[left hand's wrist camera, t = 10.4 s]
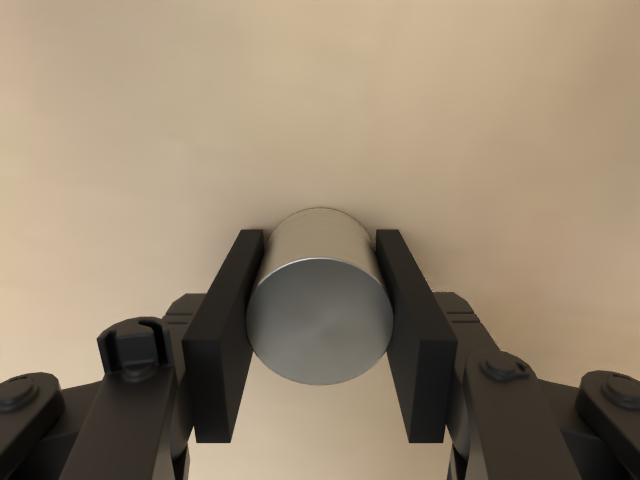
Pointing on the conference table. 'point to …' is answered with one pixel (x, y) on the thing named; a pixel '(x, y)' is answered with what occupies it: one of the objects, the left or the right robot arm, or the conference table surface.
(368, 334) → the tin
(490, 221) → the conference table surface
